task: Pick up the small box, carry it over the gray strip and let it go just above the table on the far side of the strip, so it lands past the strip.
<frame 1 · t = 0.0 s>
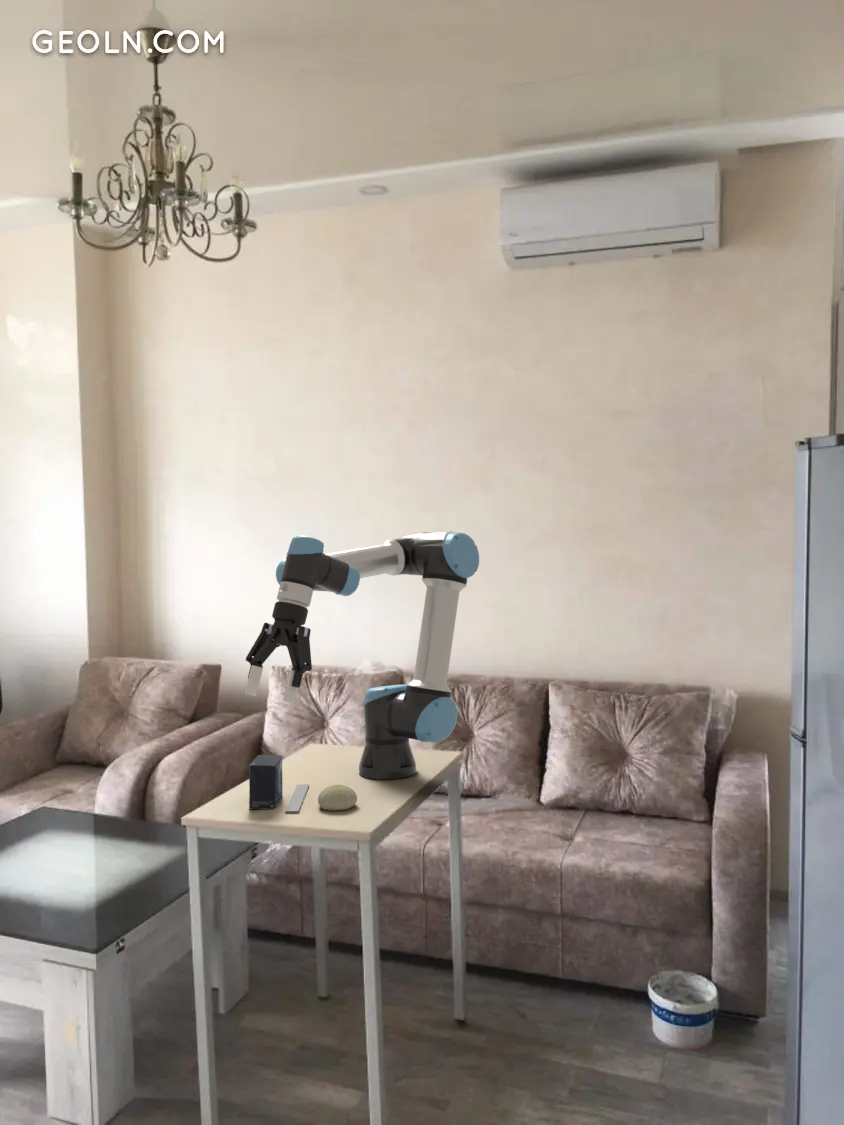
hand: (269, 698, 208), 28 cm above the table, tool tilted 20°, fingers open, 13 cm apart
sea urchin shell: (337, 808, 223), on the table
small box: (266, 804, 227), on the table
gray strip: (297, 799, 230), on the table
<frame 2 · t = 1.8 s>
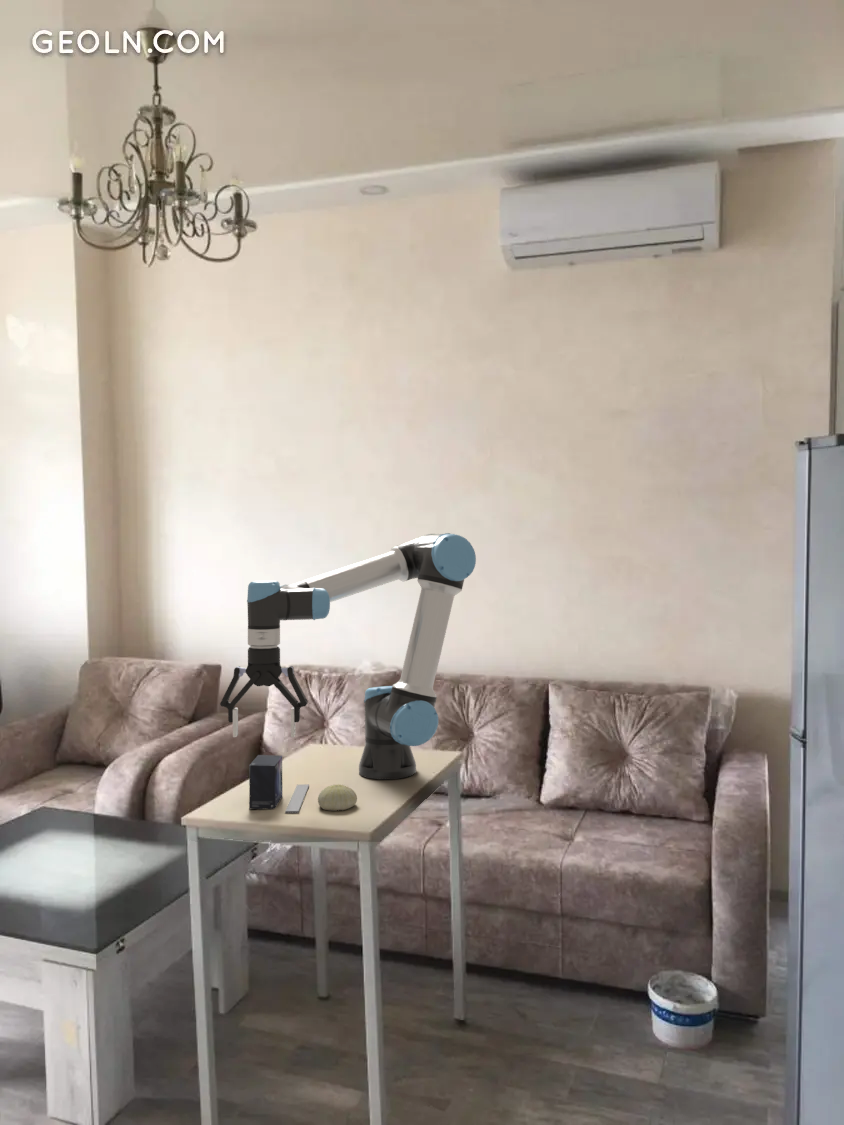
hand: (264, 736, 226), 16 cm above the table, tool pointing down, fingers open, 13 cm apart
nothing on the table moved.
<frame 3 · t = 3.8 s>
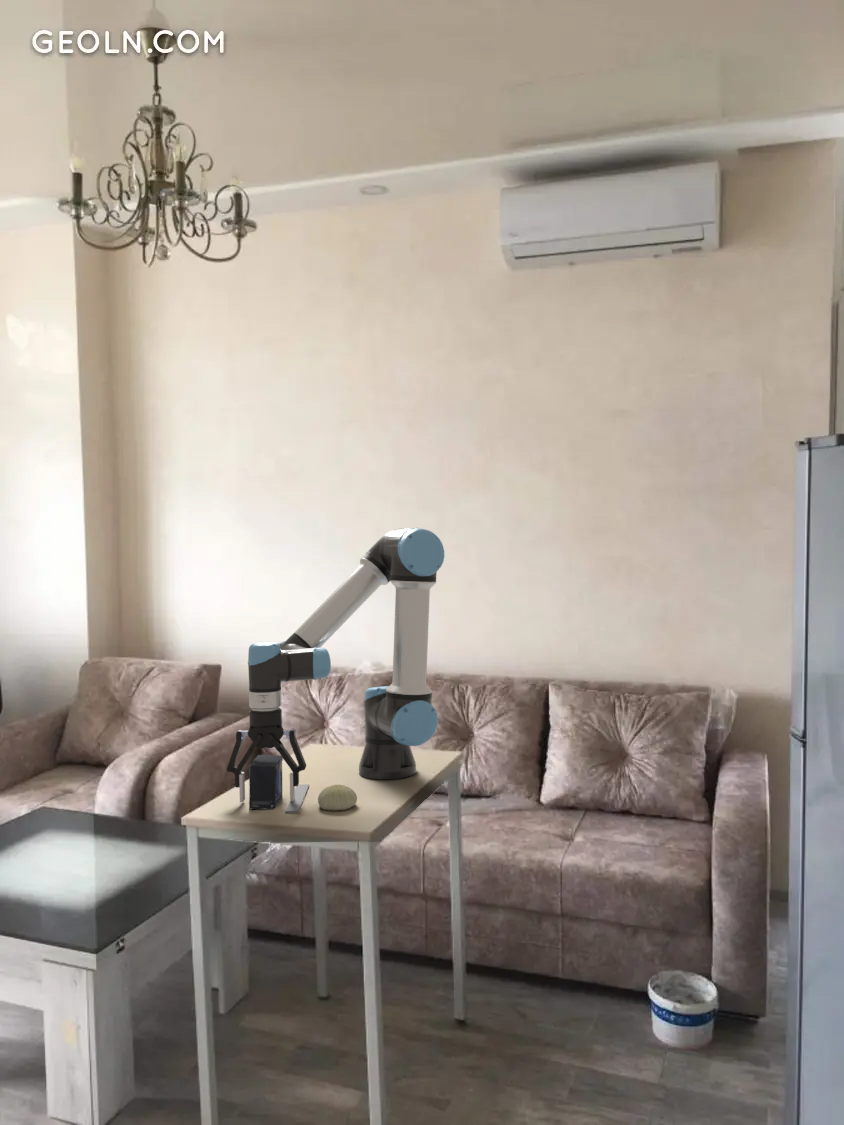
hand: (267, 800, 227), 1 cm above the table, tool pointing down, fingers open, 11 cm apart
nothing on the table moved.
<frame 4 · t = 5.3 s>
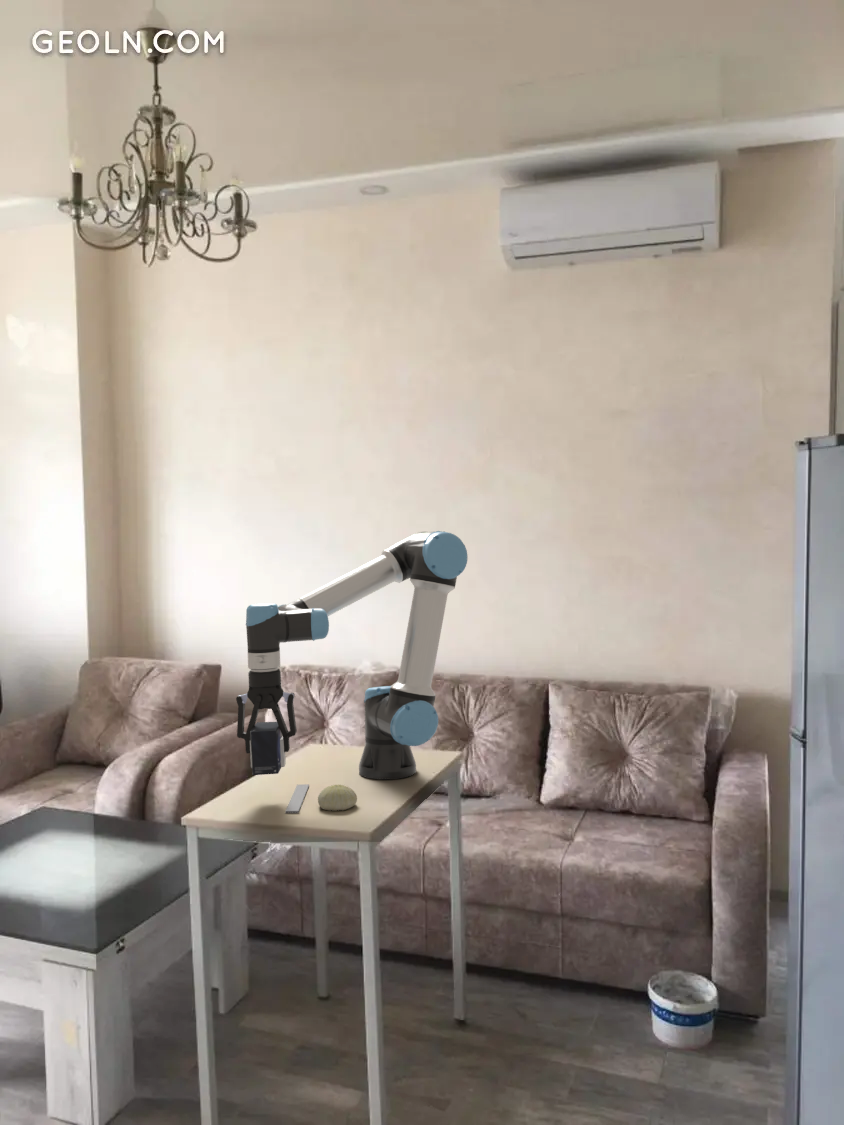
hand: (268, 765, 227), 9 cm above the table, tool pointing down, fingers closed on small box, 6 cm apart
small box: (269, 770, 227), point 8 cm above the table, touching gripper
everything else where it was.
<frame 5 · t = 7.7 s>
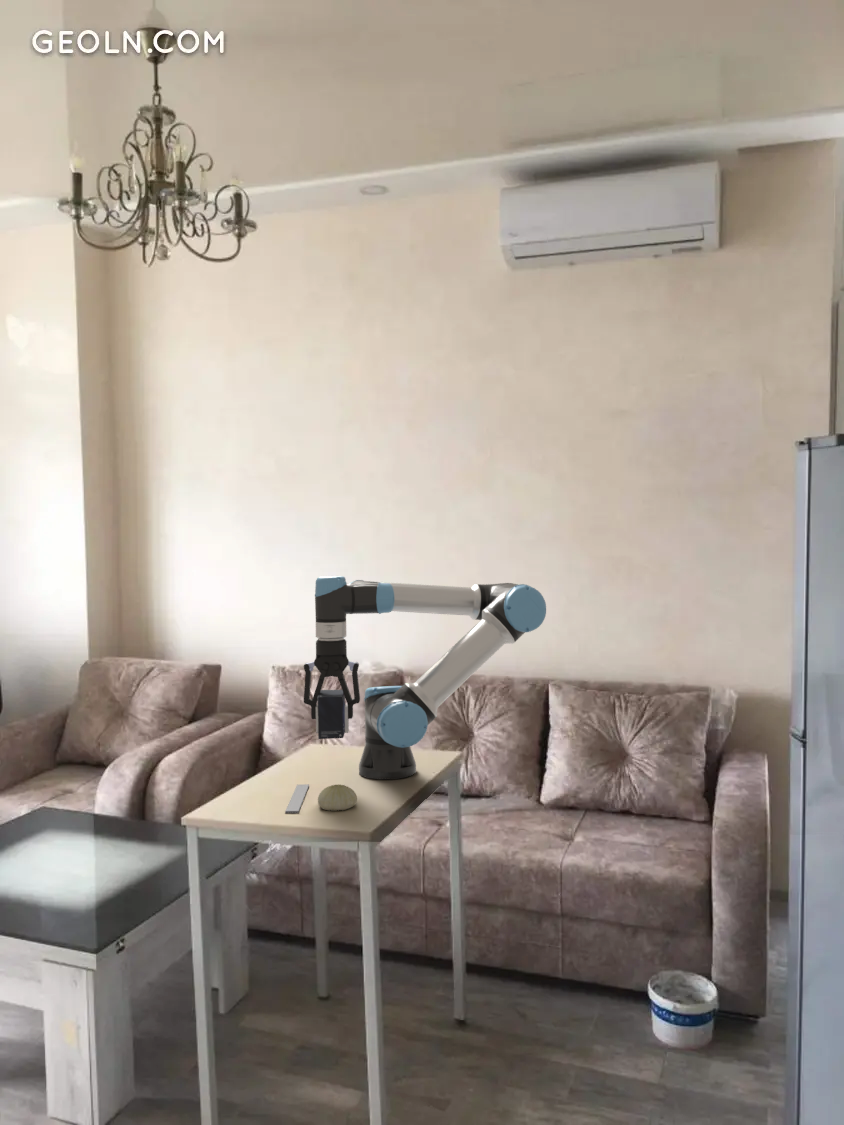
hand: (332, 731, 236), 15 cm above the table, tool pointing down, fingers closed on small box, 6 cm apart
small box: (333, 735, 236), point 14 cm above the table, touching gripper
everything else where it was.
when the fingers open (1 cm above the table, at t = 10.7 s): small box stays where it is, on the table.
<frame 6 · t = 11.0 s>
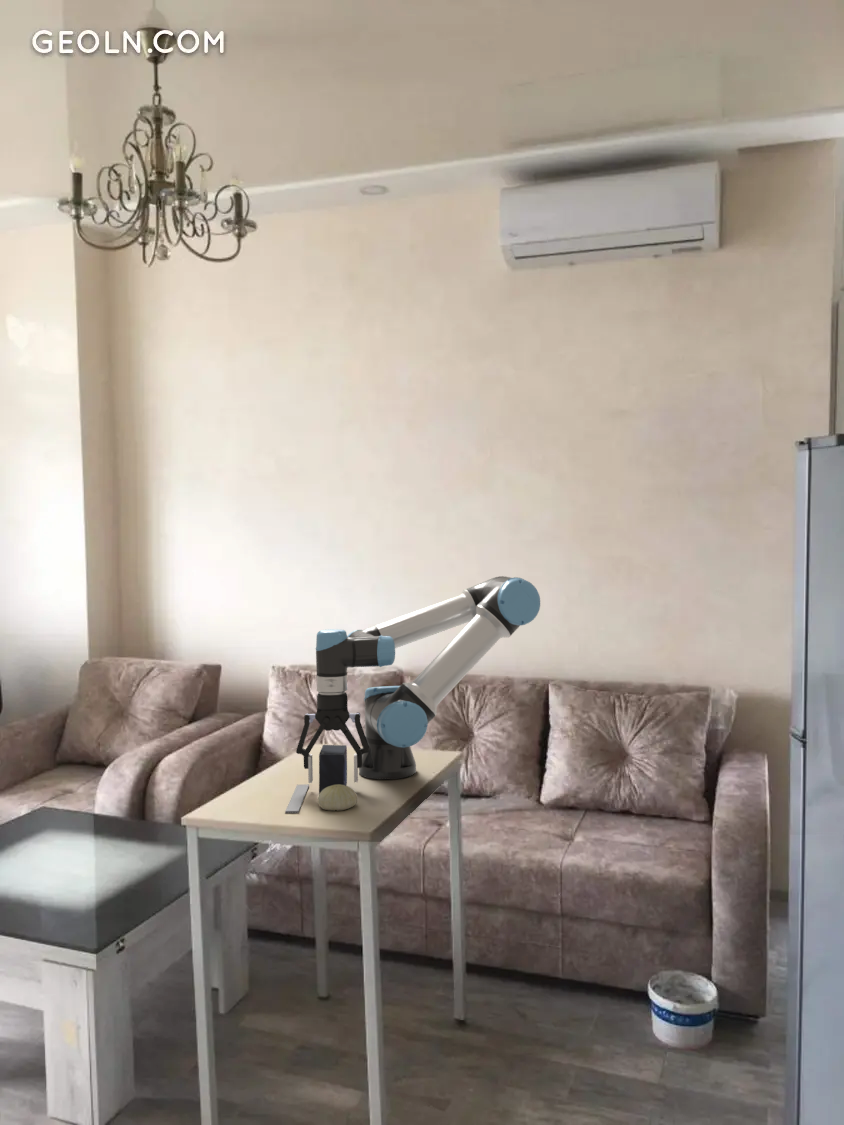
hand: (333, 781, 237), 2 cm above the table, tool pointing down, fingers open, 10 cm apart
small box: (333, 791, 237), on the table
everything else where it was.
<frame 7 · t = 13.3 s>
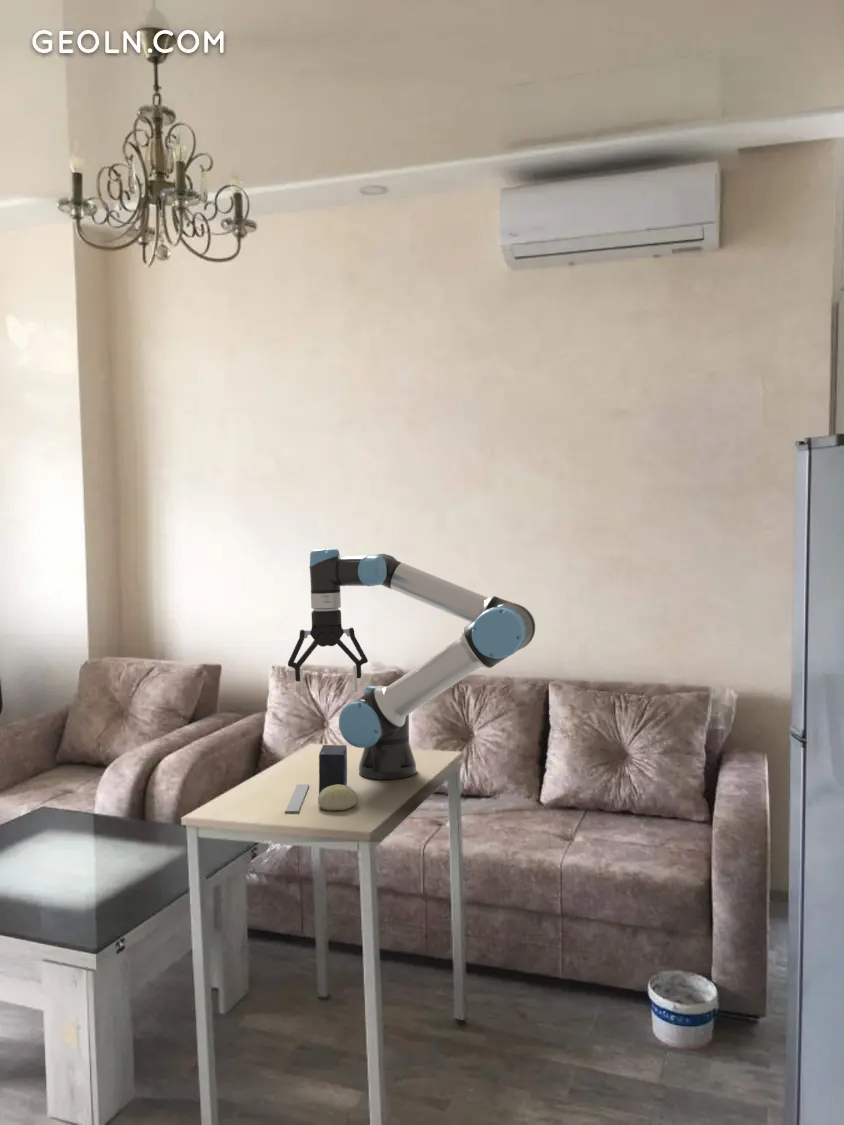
hand: (328, 692, 244), 23 cm above the table, tool pointing down, fingers open, 13 cm apart
nothing on the table moved.
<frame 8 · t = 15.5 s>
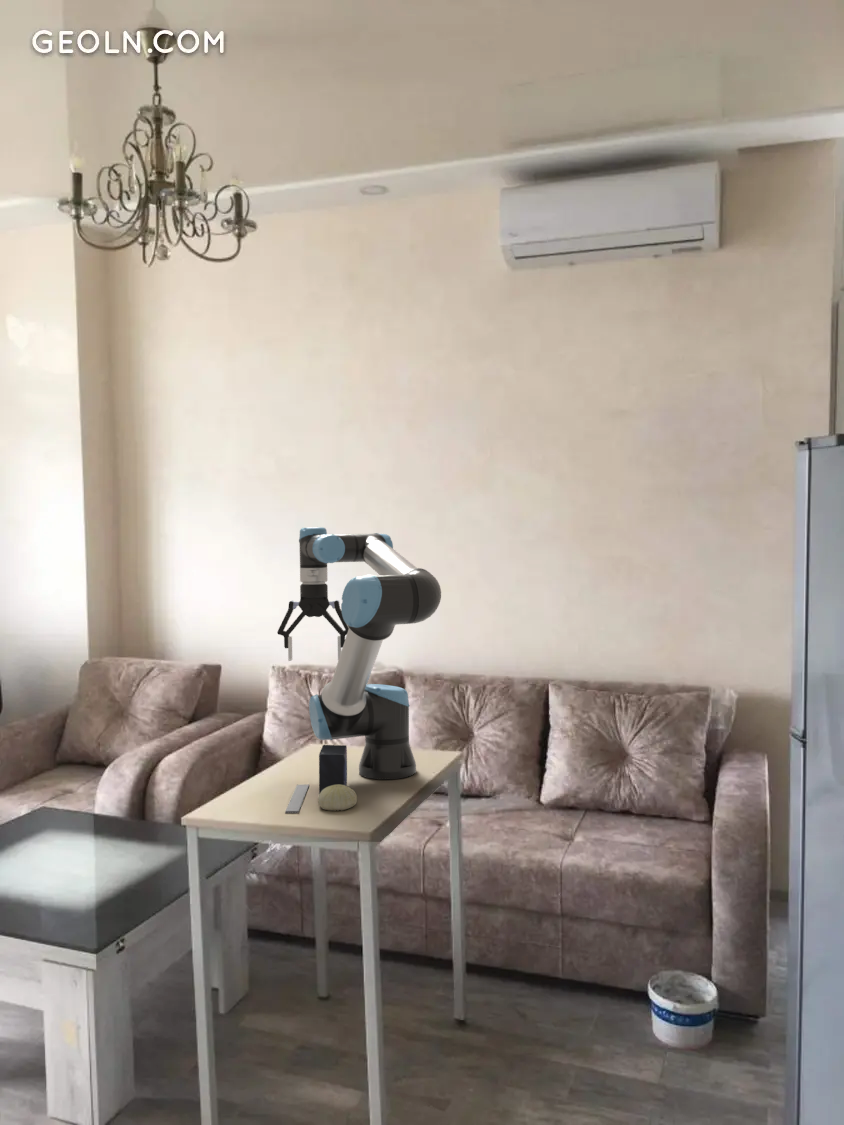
hand: (315, 659, 265), 29 cm above the table, tool pointing down, fingers open, 13 cm apart
nothing on the table moved.
at the end: small box inside the target area (1.2 cm from its centre), on the table; small box tilted 0°; the gripper is holding nothing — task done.
